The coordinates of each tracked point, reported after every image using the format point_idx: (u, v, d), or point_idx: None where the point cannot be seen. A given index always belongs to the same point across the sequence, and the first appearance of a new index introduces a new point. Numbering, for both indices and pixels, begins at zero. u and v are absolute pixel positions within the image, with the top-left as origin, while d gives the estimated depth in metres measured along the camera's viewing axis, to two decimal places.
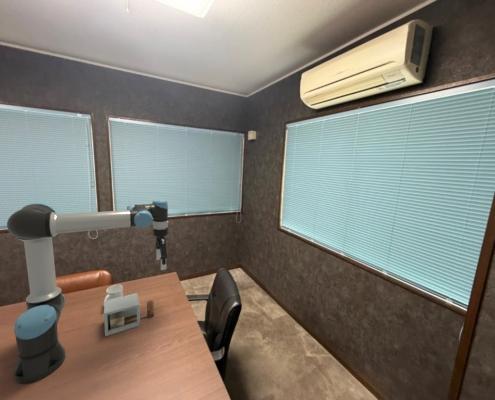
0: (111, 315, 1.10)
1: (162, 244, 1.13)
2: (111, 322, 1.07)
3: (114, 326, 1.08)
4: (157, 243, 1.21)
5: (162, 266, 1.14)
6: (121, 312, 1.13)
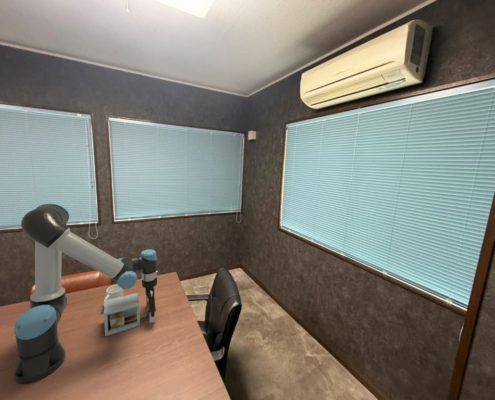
0: (111, 315, 1.10)
1: (150, 297, 1.11)
2: (111, 322, 1.07)
3: (114, 326, 1.08)
4: None
5: (151, 318, 1.13)
6: (121, 312, 1.13)
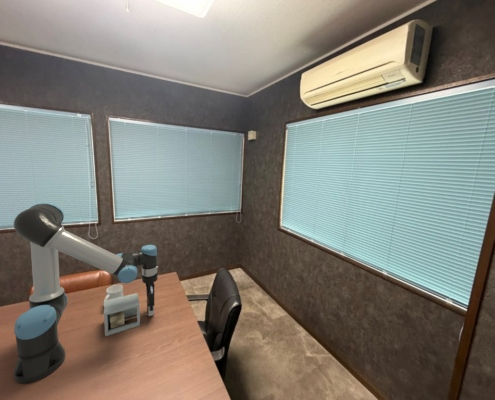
0: None
1: (150, 294, 1.12)
2: (111, 320, 1.07)
3: (114, 323, 1.08)
4: None
5: (150, 312, 1.17)
6: None
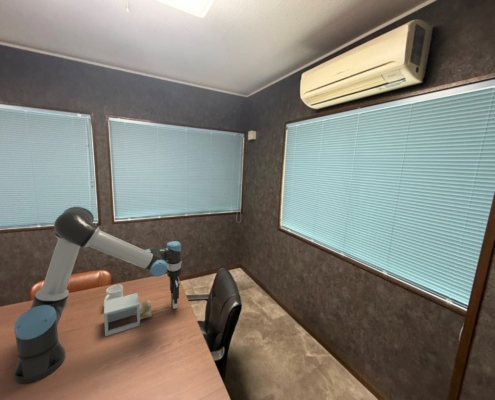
0: (139, 305, 1.17)
1: (176, 288, 1.19)
2: (140, 311, 1.14)
3: (142, 315, 1.15)
4: (171, 284, 1.25)
5: (174, 304, 1.24)
6: (148, 302, 1.19)
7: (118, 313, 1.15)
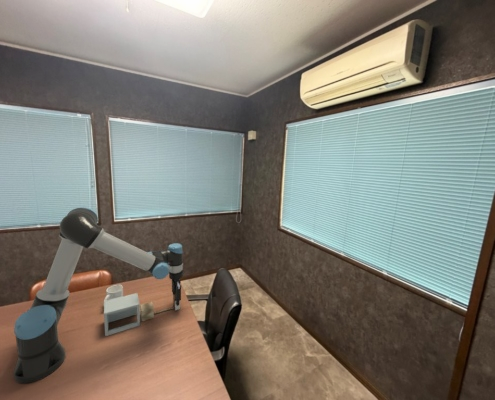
0: (141, 306, 1.18)
1: (178, 289, 1.20)
2: (142, 313, 1.15)
3: (145, 316, 1.16)
4: (173, 286, 1.26)
5: (176, 306, 1.25)
6: (150, 304, 1.20)
7: (118, 313, 1.15)
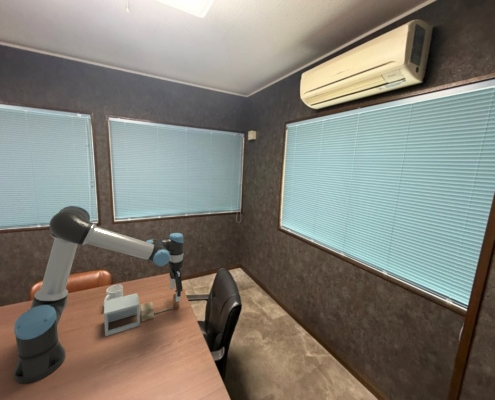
0: (141, 306, 1.18)
1: (178, 277, 1.18)
2: (142, 313, 1.15)
3: (145, 317, 1.16)
4: (172, 274, 1.26)
5: (177, 297, 1.19)
6: (150, 304, 1.20)
7: (118, 313, 1.15)
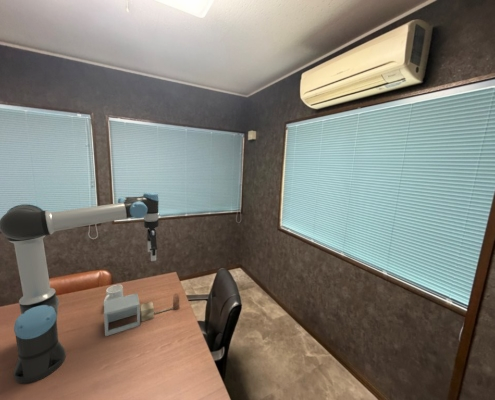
0: (141, 306, 1.18)
1: (152, 235, 1.15)
2: (142, 313, 1.15)
3: (145, 317, 1.16)
4: (148, 235, 1.24)
5: (152, 257, 1.17)
6: (150, 304, 1.20)
7: (118, 313, 1.15)
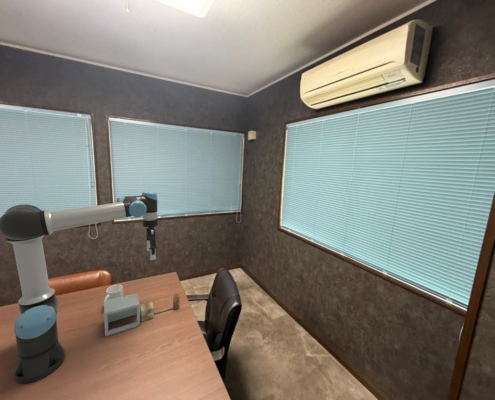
0: (141, 306, 1.18)
1: (151, 234, 1.15)
2: (142, 313, 1.15)
3: (145, 317, 1.16)
4: (147, 234, 1.24)
5: (151, 256, 1.17)
6: (150, 304, 1.20)
7: (118, 313, 1.15)
